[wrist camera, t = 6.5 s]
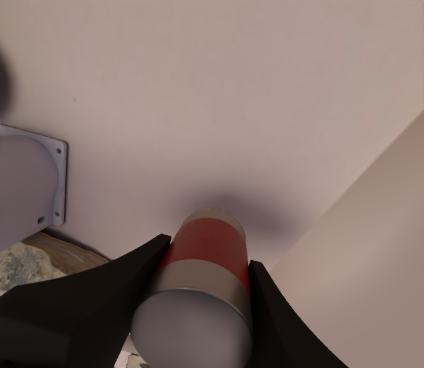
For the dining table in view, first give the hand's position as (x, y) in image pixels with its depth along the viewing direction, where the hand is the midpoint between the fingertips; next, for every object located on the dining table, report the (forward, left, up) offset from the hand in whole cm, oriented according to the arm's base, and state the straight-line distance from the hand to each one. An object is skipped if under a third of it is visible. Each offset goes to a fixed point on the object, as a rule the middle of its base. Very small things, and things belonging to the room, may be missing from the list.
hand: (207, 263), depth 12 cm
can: (0, 0, -3) cm, 3 cm away
